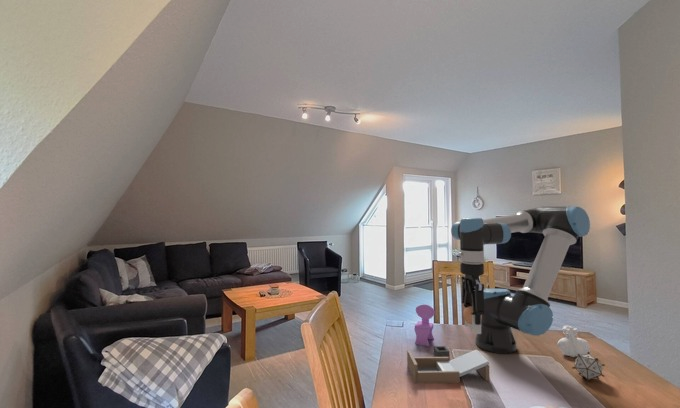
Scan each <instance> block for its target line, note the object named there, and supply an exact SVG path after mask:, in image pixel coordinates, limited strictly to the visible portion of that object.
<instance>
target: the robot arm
mask: <svg viewBox="0 0 680 408" xmlns="http://www.w3.org/2000/svg"><path fill="white" fill-rule="evenodd" d="M590 229H591V222H590V217H589V215H588V213H587V211H586V210H585V209H584V208H583V207H580V206H571V205H568V206H538V207H534V208H533V207H532V208H529V209H524V210H520V211H517V212H515V213H513V214H508V215H501V216H494V217H489V218H481V217H463V218H461V219H460V221H456V222H455V223H453V224H452V226H451V229H450V232H451V236H452V237H453V238H454V239H455V240H458V241H459V246H460V247H459V249H460V250H459V251H460V252H459V253H458V254H459V257H460V258H459V259H460V260H459V261H461V262H460V265H459V267H460V269H459V271H460V273H461V274H462V276H461V304H462V305H463V307H464V310H465V309H466V308H467V307H471V306H472V307H473V313H471V314H472V325H471V324H469V323H467V322H466V321H465V320H464V327H465V328H466V327H468V328H469V327H471V329H472V330H471V332H472V335H475V345H477V346H478V347H479V348H480V349H482V350H484V351H487V352H491V353H497V354H512V353H514V352H516V351H517V341H516V339H515V336H514V334H513V330H512V329H515V330H517V331H519V332H522V333H523V334H526V335H527V334H528V335H530V336H534V337H538V336H541V335H544V334H546V333H547V332H548V331H549V330H550V328H551V327H552V324H553V322H554V321H553V320H554V318H553V316H554V313H553V310H552V309H551V303H550V301H549V300H548V299H549V297H550V294H551V291H552V289H553V286H554V284H555V282H556V280H557V277H558V274H559V272H560V269H561V268H562V267H561V266H562V265H563V263H564V260H565V258H566V256H567V252H568V250H569V247H570V246H572V245H574V244H576V243H577V241H578V239H579V238H580V237H586V236H587V235H588V234H589V232H590ZM512 233H522V234H526V233H535V234H543V236H544V238H543V240H542V242H541V245H540V246H539V247H540V248H539V250H538V252H537V254H536V257H535V258H534V261H533V263H532V265H531V268H530V270H529V273H528V274H527V277H526V279H525V282H524V285H523V286H522V288H518V289H516V290H515V294H514V295H512V292H511V290H509V289H507V288H485V284H483V283H481V281H480V280H481V279H480V276H483V275H484V273H485V266H484V262H485V254H484V253H485V249H484V247H485V245H501V244H506V243H508V242H509V241H510V240H511V237H512ZM481 315H482V320H481Z"/></svg>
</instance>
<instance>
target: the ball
mask: <svg viewBox="0 0 680 408" xmlns="http://www.w3.org/2000/svg"><path fill="white" fill-rule="evenodd" d="M471 313H473V307H472V306H471V307H467V308H466V309H465V308H464V310H463V313H462V315H463V316H462V317H463V320H464V322H465V321H466V322H467V323H469V324H471V325H472V314H471ZM481 320H482V315H481Z"/></svg>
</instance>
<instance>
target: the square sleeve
mask: <svg viewBox="0 0 680 408" xmlns="http://www.w3.org/2000/svg"><path fill="white" fill-rule="evenodd" d="M433 355H434V356H435V357H449V358H450V350H449V349H448V348H447V346H446V345H445V346H444V345H442V346H441V345H437V346H435V345H434V346H433Z"/></svg>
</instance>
